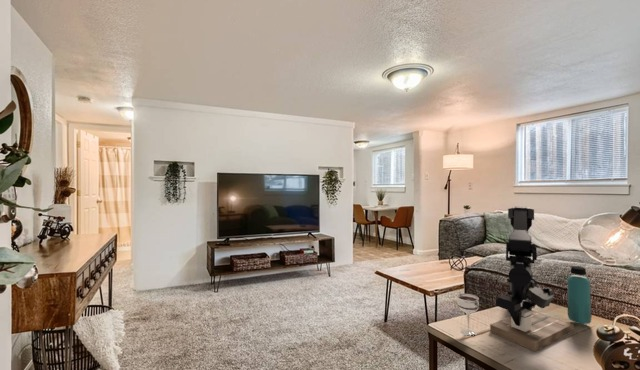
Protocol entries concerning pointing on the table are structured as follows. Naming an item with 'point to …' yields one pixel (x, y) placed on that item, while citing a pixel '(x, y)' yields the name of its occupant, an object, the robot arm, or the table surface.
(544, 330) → the brown wooden board
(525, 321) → the fader knob
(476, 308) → the wineglass
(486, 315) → the table surface
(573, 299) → the beverage bottle
